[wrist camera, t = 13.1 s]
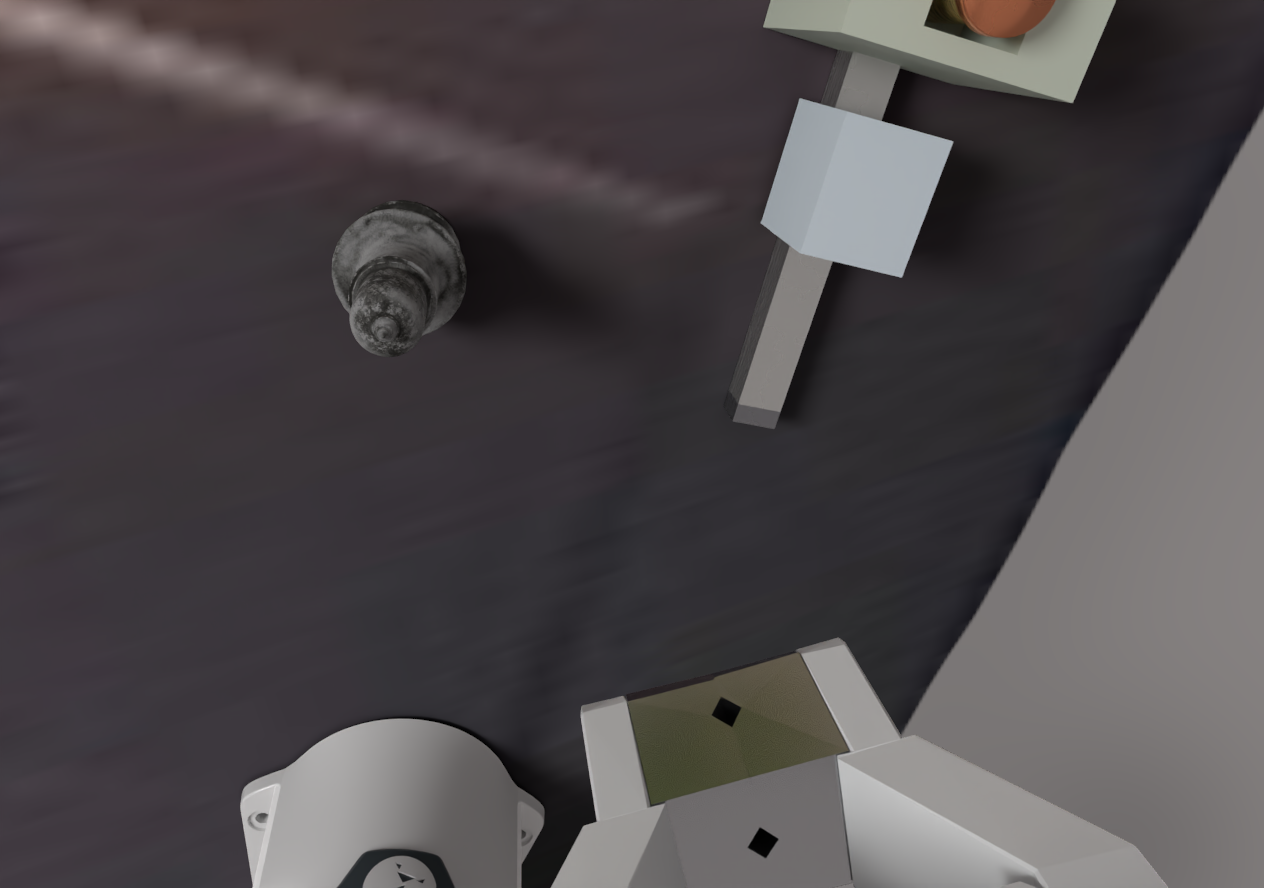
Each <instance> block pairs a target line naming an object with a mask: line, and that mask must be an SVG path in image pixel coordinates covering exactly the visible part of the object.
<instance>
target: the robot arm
mask: <svg viewBox="0 0 1264 888" xmlns="http://www.w3.org/2000/svg"><path fill="white" fill-rule="evenodd" d="M626 696H627V700H626V697H625V696H621V697H617V698H613V699H609V700H605V701H601V702H596V703H592V704H588V705H584V706H582V707H581V722H582V728H583V735H584V741H585V748H586V754H587V761H588V767H589V774H590V780H591V787H592V794H593V800H594V807H595V813H596V820H597V822H595V823H591V824H588V825H585V826H583V828H582V829H581V831H580V833H579V835H578V837H577V839H576V841H575V843H574V845H573V846H572V848H571V850H570V852H569V854H568V856H567V858H566V860H565V862H564V863H563V865H562V867H561V869H560V871H559V873H558V875H557V877H556V879H555V881H554V882H553V884H552V886H551V888H834V887H838V886H842V885H846V884H850V883H853V884H854V887H855V888H1168V886H1167V885H1166V884H1165V883H1164V881H1163V880H1162V879H1161V878H1160V876H1159V875H1158V874H1157V873H1156V871H1155V870H1154V869H1153V867H1152V866H1151V865H1150V864H1149V863H1148V861H1147V860H1146V859H1145V857H1144V856H1143V855H1142V854H1141V853H1140V851H1139V850H1138V849H1137V847H1136V846H1135V845H1133V844H1131V843H1129V842H1127V841H1125V840H1123V839H1121V838H1119V837H1117V836H1115V835H1113V834H1111V833H1109V832H1107V831H1105V830H1103V829H1101V828H1099V827H1097V826H1095V825H1093V824H1091V823H1089V822H1087V821H1085V820H1083V819H1081V818H1079V817H1077V816H1075V815H1073V814H1072V813H1070V812H1067V811H1066V810H1064V809H1062V808H1060V807H1058V806H1056V805H1054V804H1052V803H1050V802H1048V801H1045V800H1044V799H1042V798H1040V797H1038V796H1036V795H1034V794H1032V793H1030V792H1028V791H1026V790H1024V789H1022V788H1020V787H1018V786H1016V785H1014V784H1012V783H1010V782H1008V781H1006V780H1004V779H1002V778H1000V777H998V776H996V775H994V774H992V773H990V772H988V771H986V770H984V769H983V768H981V767H979V766H977V765H974V764H973V763H970V762H969V761H967V760H965V759H962V758H961V757H959V756H957V755H955V754H953V753H951V752H949V751H947V750H945V749H943V748H941V747H939V746H937V745H935V744H933V743H931V742H929V741H927V740H925V739H923V738H921V737H919V736H917V735H913V736H909V737H906V738H902V736H901V735H900V733H899V731H898V730H897V728H896V726H895V725H894V723H893V721H892V720H891V718H890V716H889V715H888V713H887V711H886V710H885V708H884V706H883V705H882V703H881V701H880V700H879V698H878V696H877V695H876V693H875V691H874V690H873V688H872V686H871V685H870V683H869V681H868V680H867V678H866V676H865V675H864V673H863V671H862V670H861V668H860V666H859V665H858V663H857V661H856V660H855V658H854V656H853V655H852V653H851V651H850V650H849V648H848V646H847V645H846V643H845V642H844V641H842V640H841V639H839V638H835V639H832V640H828V641H825V642H821V643H818V644H814V645H811V646H808V647H804V648H801V649H797V650H796V652H794V651H793V652H789V653H785V654H782V655H778V656H774V657H771V658H767V659H764V660H760V661H756V662H753V663H749V664H745V665H742V666H738V667H734V668H731V669H727V670H723V671H720V672H716V673H712V674H709V675H705V676H700V677H696V678H692V679H688V680H684V681H680V682H676V683H671V684H667V685H663V686H659V687H655V688H651V689H647V690H642V691H638V692H634V693H630V694H626ZM627 701H628V703H627ZM628 705H629V707H628ZM240 809H241V815H242V821H243V827H244V833H245V840H246V846H247V852H248V858H249V864H250V870H251V877H252V883H253V888H521V865H522V863H523V861H524V859H525V858H526V856H527V854H528V852H529V851H530V849H531V847H532V845H533V844H534V842H535V840H536V838H537V837H538V835H539V833H540V831H541V830H542V828H543V825H544V813H545V811H544V807H543V805H542V804H541V803H540V802H539V801H538V800H537V799H535V798H534V797H533V796H531V795H530V794H528V793H527V792H525V791H524V790H522V789H520V788H519V787H517V786H516V784H515V783H514V782H513V781H512V779H511V778H510V776H509V774H508V772H507V770H506V769H505V767H504V765H503V764H502V762H501V761H500V759H499V758H498V757H497V756H496V755H495V754H494V753H493V752H492V750H491V749H489V748H488V747H487V746H486V745H485V744H483V743H482V742H481V741H479V740H478V739H476V738H475V737H473V736H471V735H469V734H467V733H466V732H463V731H461V730H459V729H456V728H454V727H451V726H448V725H444V724H441V723H437V722H432V721H426V720H418V719H386V720H378V721H372V722H367V723H363V724H359V725H355V726H352V727H349V728H346V729H344V730H341V731H339V732H337V733H335V734H333V735H331V736H329V737H327V738H325V739H323V740H322V741H320V742H319V743H317V744H316V745H314V746H313V747H312V748H310V749H309V750H308V751H307V752H306V753H305V754H303V755H302V756H301V757H300V758H299V759H298V760H297V761H295V762H294V763H293V764H291V765H290V766H288V767H287V768H285V769H283V770H280V771H277V772H274V773H271V774H269V775H266V776H263V777H261V778H259V779H256V780H254V781H252V782H251V783H249V784H248V785H247V786H246V787H245V788H244V789H243V792H242V797H241V804H240ZM262 813H266V814H262Z"/></svg>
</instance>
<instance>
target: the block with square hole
mask: <svg viewBox="0 0 1264 888" xmlns="http://www.w3.org/2000/svg"><path fill="white" fill-rule="evenodd" d="M932 1H933V0H771V2H770V5H769V8H768V12H767V15H766V19H765V22H764V26H763V27H764V28H768V29H771V30H774V31H778V32H781V33H784V34H788V35H791V36H794V37H798V38H801V39H804V40H808V41H811V42H814V43H817V44H821V45H824V46H827V47H831V48H834V49H837V50H846V51H854V52H857V53H860V54H864V55H867V56H870V57H874V58H877V59H880V60H884V61H887V62H890V63H894V64H897V65H900V68H901V69H904V70H907V71H911V72H914V73H917V74H921V75H924V76H927V77H931V78H934V79H937V80H941V81H944V82H947V83H951V84H955V85H961V86H967V87H974V88H980V89H986V90H993V91H999V92H1005V93H1011V94H1018V95H1024V96H1030V97H1036V98H1043V99H1049V100H1055V101H1062V102H1068V103H1073V101H1074V99H1075V97H1076V94H1077V92H1078V89H1079V87H1080V85H1081V82H1082V80H1083V78H1084V75H1085V73H1086V71H1087V68H1088V66H1089V63H1090V61H1091V59H1092V56H1093V54H1094V52H1095V49H1096V47H1097V44H1098V42H1099V40H1100V37H1101V35H1102V33H1103V30H1104V28H1105V26H1106V23H1107V21H1108V18H1109V16H1110V14H1111V11H1112V9H1113V7H1114V4H1115V2H1116V0H1056V1H1055V3H1054V5H1053V6H1052V8H1051V10H1050V11H1049V13H1048V14H1047V15H1046V17H1045V18H1044V19H1043V20H1042V21H1041V22H1040V23H1039V24H1038V25H1036V26H1035V27H1034V28H1032V29H1031V30H1029V31H1028V32H1026V33H1024V34H1021V35H1019V36H1015V37H1009V38H999V37H986V36H982V35H980V34H977V33H975V32H974V31H972V30H971V29H970V28H969V27H967V25H966V24H944V23H930V22H927V21H926V18H927V15H928V12H929V9H930V6H931V4H932Z"/></svg>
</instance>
